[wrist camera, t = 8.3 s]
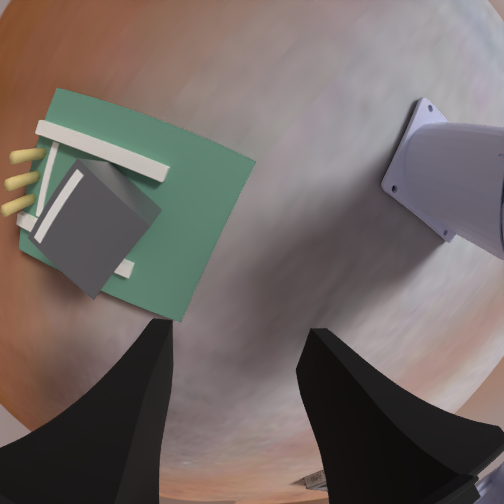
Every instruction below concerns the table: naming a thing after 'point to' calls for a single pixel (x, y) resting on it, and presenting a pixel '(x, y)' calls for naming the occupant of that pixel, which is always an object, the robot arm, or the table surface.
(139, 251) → the header board
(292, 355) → the table surface
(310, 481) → the box
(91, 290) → the plug
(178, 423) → the table surface
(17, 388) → the table surface
